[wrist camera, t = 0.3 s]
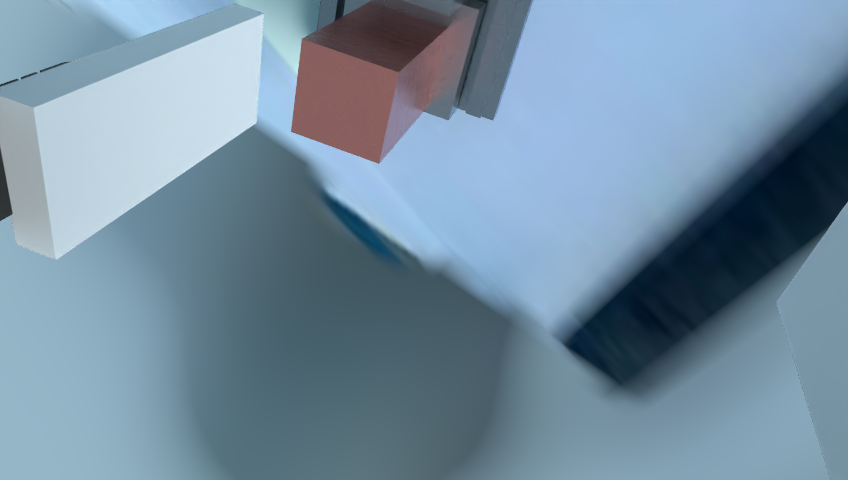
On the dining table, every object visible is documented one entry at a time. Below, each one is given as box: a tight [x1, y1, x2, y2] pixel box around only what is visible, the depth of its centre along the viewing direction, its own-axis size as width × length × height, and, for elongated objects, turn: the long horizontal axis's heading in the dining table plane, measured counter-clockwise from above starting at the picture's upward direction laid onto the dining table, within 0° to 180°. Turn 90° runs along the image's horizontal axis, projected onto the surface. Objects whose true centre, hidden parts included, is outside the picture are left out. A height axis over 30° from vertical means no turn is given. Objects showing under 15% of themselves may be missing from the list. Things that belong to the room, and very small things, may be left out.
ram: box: [291, 0, 486, 163], centre depth 35 cm, size 8×8×11 cm
